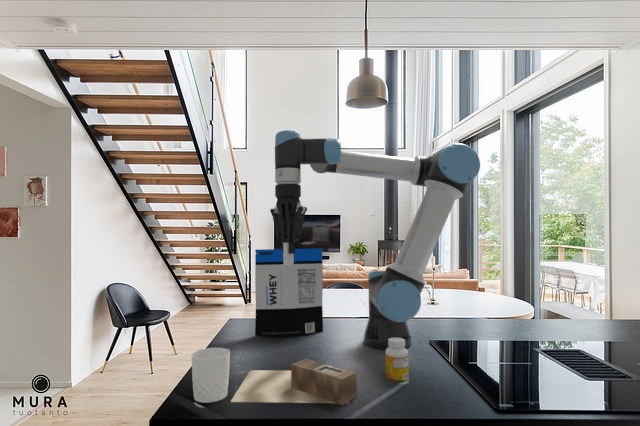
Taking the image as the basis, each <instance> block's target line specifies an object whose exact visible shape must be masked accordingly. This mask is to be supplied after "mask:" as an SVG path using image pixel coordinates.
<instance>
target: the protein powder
mask: <svg viewBox="0 0 640 426" xmlns="http://www.w3.org/2000/svg"><path fill="white" fill-rule="evenodd" d="M254 252H255V255H254V256H255V263H254V265H255V266H254V267H255V269H254V270H255V272H254V273H255V274H254V275H255V277H254V279H255V281H254V282H255V284H254V285H255V292H254V293H255V320H254V321H255V324H254V325H255V328H254V329H255V331H254V336H255V337H262V338H276V339H277V338H278V339H279V338H281V339H282V338H283V339H284V338H297V337H298V338H300V337H305V336H311V335H316V334H318V333H323V332H324V320H323V319H324V316H323V288H324V287H323V281H324V280H323V278H324V277H323V276H324V275H323V273H324V272H323V264H324V263H323V248H295V253H294V265H283V253H282V248H277V249H275V248H271V249H255V250H254Z"/></svg>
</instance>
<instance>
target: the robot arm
mask: <svg viewBox="0 0 640 426" xmlns="http://www.w3.org/2000/svg"><path fill="white" fill-rule="evenodd" d="M274 140H275V141H274V170H275V171H274V172H275V173H274V176H275V177H274V182H275V184H276V185H275V186H274V187H275V188H274V194H275V195H274V196H275V198H276V199H277V200H276V203H275V207H274V208H270V210H269V212H270V214H271V215H272V220H273V227H274V231H275V237H276V238H275V239H276V240H277V241H280V242H281V249H282V253H283V265H294V253H295V249H296V242H298V241H300V240H301V237H302V233H303V232H302V231H303V227H304V221H305V215H306V213H307V211H308V207H306V206H303V205H302V203H301V200H300V198H301V196H302V186H301V185H300V184H301V183H302V182H301V181H302V180H301V179H302V177H301V174H302V173H301V172H302V171H301V168H302V167H301V165H309V166H310V168H311V169H312V171H314V173H317V174H326V173H330V174H331V173H332V174H333V173H334V174H342V175H350V176H351V175H352V176H360V177H366V178H376V179H386V180H392V181H394V180H395V181H403V182H409V183H411V185H412V186H420V187H425V188H426V190H425V193H424V195H423V198H422V200H421V201H420V204H419V207H418V208H417V211H416V213H415V215H414V218H413V220H412V223H411V225H410V227H409V230H408V231H407V234H406V236H405V239H404V241H403V243H402V245H401V247H400V249H399V252H398V254H397V257H396V259H395V261H394V263H391V264H389V265H387V266H386V269H385V270H375V271H374V270H373V271H370V272H369V273H368V278H367V283H368V320H367V324H366V326H365V327H366V328H365V330H364V334H363V343H364V345H366V346H368V347H370V348H373V349H379V350H380V349H381V350H386V349H387V348H388V347H389V346H388V339H389V338H402V339H404V340H405V347H404V348H405V349H408V348H409V347H411V346H412V344H413V343H412V335H411V332H410V329H409V325H408V323H407V321H409V320H411V319H413V318H415V316H417V314H418V313H419V311H420V309H421V305H422V296H421V294H422V291H423V289H424V288H425V287H424V286H425V285H426V282H425V278H424V275H423V274H424V273H425V270H426V268H427V267H428V264H429V261H430V260H431V259H430V258H431V256H432V255H433V252H434V250H435V247H436V245H437V243H438V241H439V238H440V236H441V233H442V231H443V229H444V227H445V224H446V222H447V220H448V217H449V215H450V213H451V210H452V208H453V205H454V203H455V201H456V200H458V199H461V198H464V197H463V196H464V194H465V192H466V190H467V188H468V185H469V183H471V182H472V181H474V179H475V178H476V177H477V176H478V174H479V172H480V169H481V162H480V161H481V160H480V157H479V156H478V153H477V151H476V150H475V149H473V148H472V147H471V146H469V145H468V144H464V143H452V144H449V145H447V146H444V147H443V148H442V149H441V150H440V151H439V152H437V153H436V154H433V155H430V156H428V155H427V156H422V155H417V156H414V158H413V157H412V158H410V157H401V156H400V157H399V156H392V155H382V154H374V153H365V152H357V151H348V150H342V143H341V140H340V139H338V138H330V137H327V138H302V137H301V134H300V132H298V131H296V130H289V129H287V130H280V131H278V132H277V133H275V138H274Z"/></svg>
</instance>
